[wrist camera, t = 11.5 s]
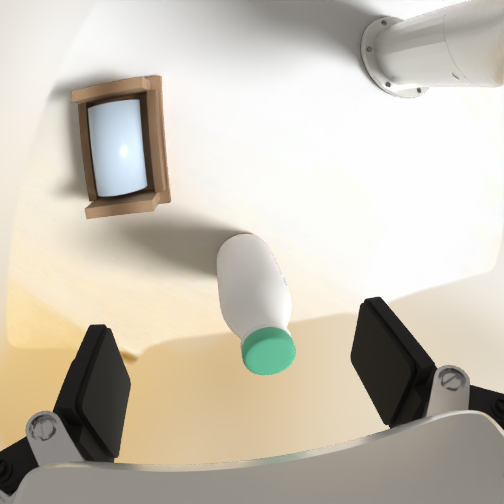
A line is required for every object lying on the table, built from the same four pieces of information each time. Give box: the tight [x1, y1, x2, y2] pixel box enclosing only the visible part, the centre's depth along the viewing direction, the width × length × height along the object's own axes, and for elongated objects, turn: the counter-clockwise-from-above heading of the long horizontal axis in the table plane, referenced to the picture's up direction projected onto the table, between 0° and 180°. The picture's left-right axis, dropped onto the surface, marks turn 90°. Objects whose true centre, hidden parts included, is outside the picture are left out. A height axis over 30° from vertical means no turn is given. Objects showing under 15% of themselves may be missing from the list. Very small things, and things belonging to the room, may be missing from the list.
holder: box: [71, 76, 171, 219], centre depth 31 cm, size 10×16×7 cm, turn 2°
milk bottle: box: [217, 234, 296, 375], centre depth 34 cm, size 8×8×20 cm
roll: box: [88, 100, 147, 196], centre depth 31 cm, size 10×6×6 cm, turn 2°
